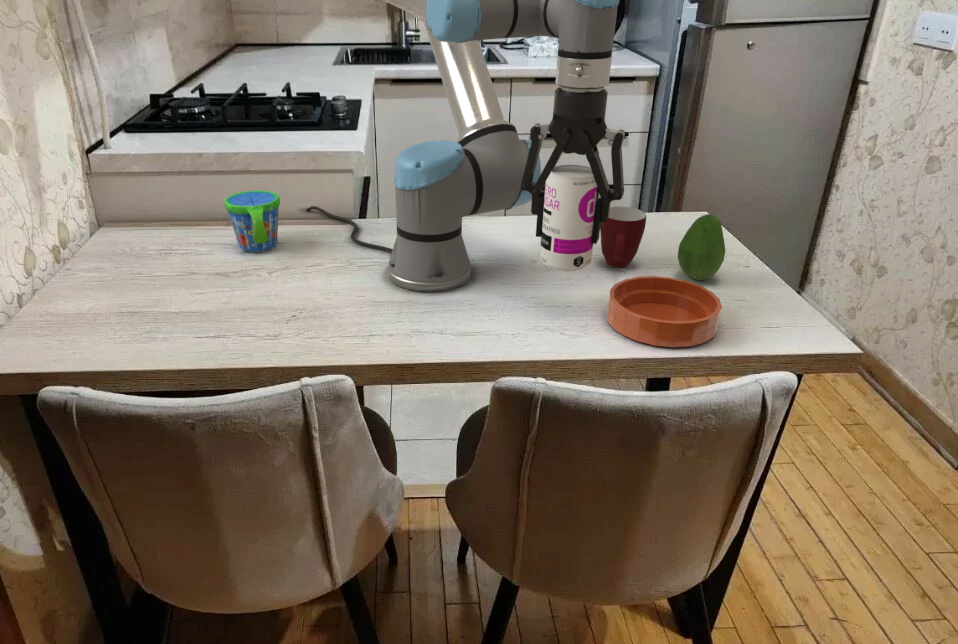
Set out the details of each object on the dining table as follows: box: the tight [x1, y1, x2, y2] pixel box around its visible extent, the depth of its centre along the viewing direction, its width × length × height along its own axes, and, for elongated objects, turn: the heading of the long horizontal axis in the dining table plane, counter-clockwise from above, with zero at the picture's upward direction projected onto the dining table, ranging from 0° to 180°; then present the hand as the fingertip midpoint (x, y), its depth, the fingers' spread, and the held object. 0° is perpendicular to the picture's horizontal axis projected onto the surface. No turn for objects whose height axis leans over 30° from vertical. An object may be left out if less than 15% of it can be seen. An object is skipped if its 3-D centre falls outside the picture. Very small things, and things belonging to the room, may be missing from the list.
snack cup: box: [224, 189, 281, 253], centre depth 144 cm, size 16×10×10 cm
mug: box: [600, 206, 648, 269], centre depth 134 cm, size 10×8×10 cm
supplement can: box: [539, 164, 600, 272], centre depth 114 cm, size 8×8×15 cm
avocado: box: [677, 213, 726, 281], centre depth 129 cm, size 8×8×12 cm
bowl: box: [606, 275, 723, 348], centre depth 116 cm, size 17×17×4 cm
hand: (567, 237), depth 115 cm, fingers closed on supplement can, 8 cm apart
